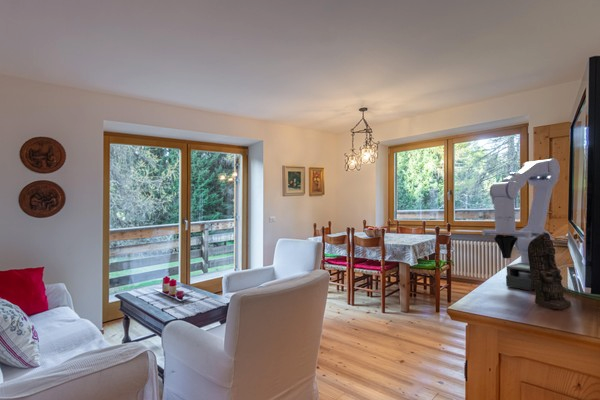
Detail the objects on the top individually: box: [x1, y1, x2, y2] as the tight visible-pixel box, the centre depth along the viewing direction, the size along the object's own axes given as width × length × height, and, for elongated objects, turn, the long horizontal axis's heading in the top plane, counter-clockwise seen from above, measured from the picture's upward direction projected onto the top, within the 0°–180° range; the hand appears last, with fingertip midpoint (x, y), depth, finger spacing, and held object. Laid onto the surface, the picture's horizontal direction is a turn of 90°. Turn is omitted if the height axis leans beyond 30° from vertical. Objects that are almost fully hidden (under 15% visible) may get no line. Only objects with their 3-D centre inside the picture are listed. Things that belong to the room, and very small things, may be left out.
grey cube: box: [518, 270, 531, 279], centre depth 105 cm, size 4×4×4 cm
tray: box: [505, 274, 535, 291], centre depth 104 cm, size 11×7×4 cm, turn 121°
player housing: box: [506, 262, 530, 277], centre depth 105 cm, size 9×9×6 cm
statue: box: [528, 232, 572, 311], centre depth 86 cm, size 7×7×20 cm
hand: (506, 258), depth 106 cm, fingers closed
